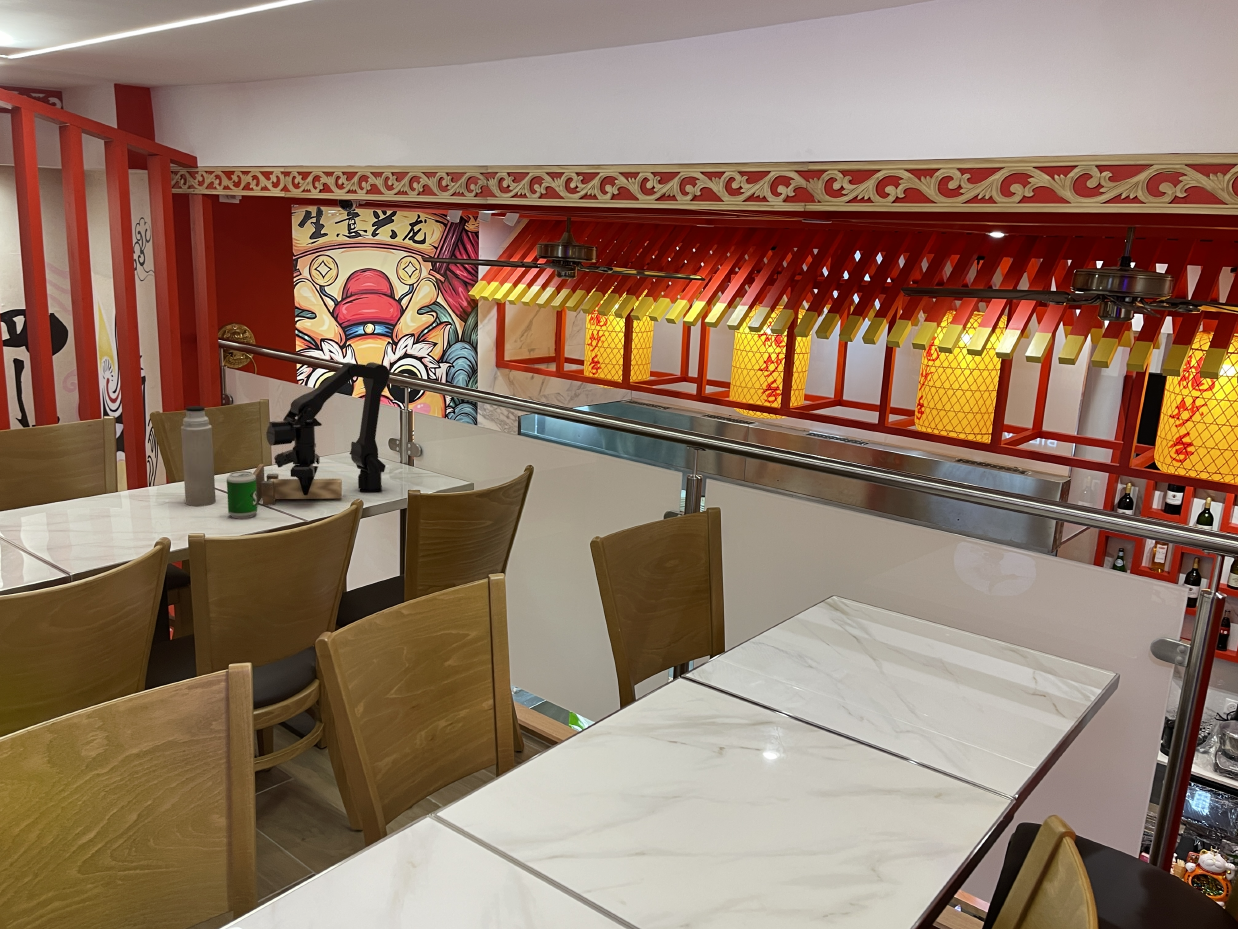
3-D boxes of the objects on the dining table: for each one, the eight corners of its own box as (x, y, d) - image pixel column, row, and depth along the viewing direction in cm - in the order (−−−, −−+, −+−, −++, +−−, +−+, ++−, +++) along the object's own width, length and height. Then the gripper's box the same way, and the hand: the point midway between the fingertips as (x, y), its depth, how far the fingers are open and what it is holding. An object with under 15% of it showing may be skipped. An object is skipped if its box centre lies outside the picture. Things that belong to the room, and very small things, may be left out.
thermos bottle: (201, 497, 279) (196, 403, 272) (221, 501, 275) (216, 406, 269) (179, 503, 271) (173, 407, 265) (199, 507, 268) (193, 410, 262)
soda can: (251, 520, 259) (249, 477, 256) (223, 518, 259) (221, 476, 256) (261, 512, 266) (260, 471, 264) (235, 511, 267) (233, 469, 264)
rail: (341, 494, 285) (341, 478, 284) (340, 498, 281) (340, 481, 280) (269, 495, 281) (269, 479, 280) (267, 499, 277) (267, 482, 276)
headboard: (280, 492, 287) (279, 464, 285) (272, 507, 272) (270, 476, 270) (260, 493, 286) (259, 464, 284) (251, 507, 271) (250, 477, 269)
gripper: (280, 435, 284) (282, 485, 288) (270, 448, 267) (273, 502, 270) (319, 435, 287) (320, 485, 290) (312, 448, 269) (313, 501, 272)
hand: (306, 493), depth 281 cm, fingers closed on rail, 4 cm apart
